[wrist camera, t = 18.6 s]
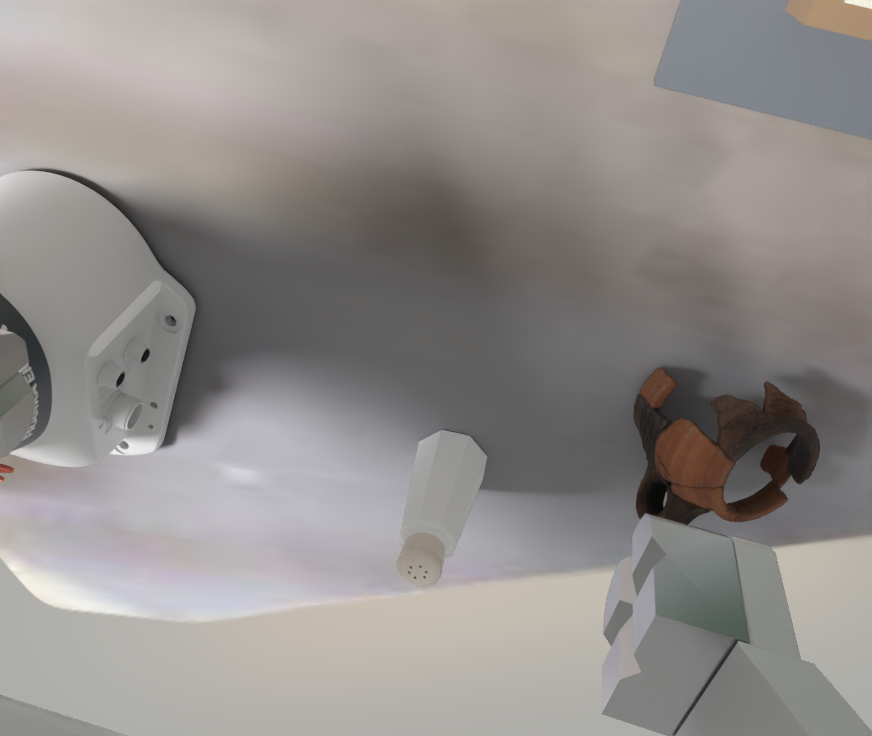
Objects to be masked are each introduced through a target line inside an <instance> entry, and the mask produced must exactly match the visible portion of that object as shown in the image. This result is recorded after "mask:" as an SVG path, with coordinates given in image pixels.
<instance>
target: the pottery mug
mask: <svg viewBox="0 0 872 736" xmlns="http://www.w3.org/2000/svg"><path fill="white" fill-rule="evenodd" d="M676 387H677V383H676V381H675V380H674V379H673V378H672V377H670V376H668V374H667V373H666V371H665V370H664V369H663V368H658V369H657V370H656V371H655V372H654V373H652V374H651V375H650V377H649V378H648V379H647V381H646V382H645V383H644V385H643V387H642V389H641V390H640V393H639V394H638V396H637V399H636V402H635V405H634V420H635V424H636V426H637V428H638V430H639V433H640V436H641V439H642V444H643V448H644V450H645V452H646V456H647V460H648V468H647V470H646V473H645V475H644V477H643V479H642V481H641V484H640V487H639V490H638V493H637V499H636V509H637V513H638V516H639V518H640V519H641V518H642V517H643V516H644V515H645V513H647V514H650V515H654V516H657V517H661V518H665V519H668V520H672V521H675V522H679V523H682V524H686V525H688V524H689V523H690V522H691V521H692V520H693V519H695V518H696V517H697V516H699V515H702V514H704V513H708V512H710V510H711V511H714V512H715V513H716V514H717V515H718V516H720V517H721V518H722V519H724V520H727V521H730V522H732V521H733V522H744V521H750V520H754V519H757V518H760V517H762V516H764V515H767V514H769V513H770V512H772V511H774V510H776V509H777V508H779V507H781V506H782V505H783V504H784V503H785V502H786V501H787V500H788V498H787V497H786V495H785V494H784V493H783V492H782V491H781V490H780V488H781V487H782V485H784V484H785V483H786V481H787V480H788V479H789V477H790V476H791V475H792V477H793V479H794V480H795V481H796V483H798V484H802V483H803V482H804V481H805V480H807V479H808V478H809V477H810V476H811V474H812V472H813V470H814V468H815V466H816V462H817V460H818V457H819V451H820V444H819V439H818V438H817V433H816V431H815V429H814V428H812V427H811V426H810V425H809V424H808V423H807V419H806V414H805V412H804V410H802V406H801V404H800V403H798V402H797V401H795V400H793V399H791V398H789V397H788V396H786V395H785V394H784V393H782V392H781V391H780V390H779V389H778V388H777V387H776V386H774V385H773V384H771V383H769V382H768V381H766V382H764V388H765V400H764V407H763V411H762V410H761V409H760V408H759V407H758V406H757V405H756V404H754V403H751V402H749V401H746V400H740V399H736V398H735V397H733V396H731V395H723V396H720V397H716V398H714V399H713V400H712V401H711V405H712V406H713V408H714V410H715V411H716V412H717V413H718V417H717V423H718V440H717V443H715V442H714V441H712V440H711V439H710V438H708V437H707V436H706V435H705V434H704V433H703V432H702V431H701V430H700V429H699V428H698V426H697V425H696V424H695V423H694V422H693V421H689V420H687V419H678V420H677V421H675V422H674V423H671V421H670V420H668V419H666V418H665V417H664V416H662V415H661V413H660V410H659V409H660V407H661V406H662V404H663V402H664V401H665V400H666V399H667V397H668V396H669V395H670V394H671V392H672V391H673V390H674V389H675V388H676ZM787 432H790V433H796V436H795V438H794V439H793V440H792V442H791V444H790V445H789V446H788V447H787V449H786V448H785V447H781V446H776V445H770V446H769V447H768V448H767V450H766V452H765V453H764V455H763V458H762V460H761V464H760V466H761V468H762V469H763V471H765V472H767V473H769V474H770V476H771V478H772V479H773V480H772V481H770V482H769V483H768V484H767V485H766V486H765V487H763V488H762V489H761V490H759V491H758V492H756V493H755V494H754V495H751V496H749V497H748V498H745V499H742V500H739V501H736V502H733V503H727V504H726V503H725V501H724V497H723V491H724V484H725V482H726V479H727V477H728V475H729V473H730V471H731V470H732V468H733V466H734V465H735V462H736V461H737V460H739V459H740V458H741V457H742V456H743V455H744V454H745V453H746V452H747V451H748V450H749V449H750V448H752V447H753V446H754V445H756V444H757V443H759V442H761V441H763V440H764V439H766V438H768V437H770V436H773V435H775V434H780V433H787ZM666 491H667V493H668V497H667V502H666V505H665V507H664V508H663V501H664V496H665V493H666Z"/></svg>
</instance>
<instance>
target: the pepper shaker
mask: <svg viewBox="0 0 872 736" xmlns="http://www.w3.org/2000/svg"><path fill="white" fill-rule="evenodd" d="M486 462H487V456H486V454H485V453H484V452H483V451H482V450H481V449H480V447H479V446H478V445H477V444H476V443H475V441H474V440H473V439H472V438H471V437H470V436H468V435H464V434H459V433H455V432H450V431H445V430H440V431H438V432H436V433H434V434H432V435H431V436H429V437H427V438H425V439H423V440H421V441H419V444H418V448H417V453H416V458H415V463H414V468H413V473H412V478H411V483H410V487H409V492H408V497H407V502H406V507H405V512H404V517H403V523H402V529H401V537H400V544H401V545H402V546H403V548H402V551H401V555H400V556H399V558H398V560H397V563H396V568H397V571H398V573H399V574H400V576H401V577H402V578H403V579H404V580H406V581H407V582H409V583H411V584H413V585H417V586H429V585H432V584H434V583H436V582H437V581H438V580H439V579H440V577H441V572H442V566H443V561H444V558H447V557H449V556H451V555H452V554H453V552H454V550H455V548H456V545H457V543H458V540H459V538H460V535H461V533H462V530H463V528H464V525H465V523H466V520H467V518H468V515H469V513H470V510H471V508H472V505H473V503H474V500H475V498H476V495H477V493H478V490H479V488H480V485H481V483H482V481H483V477H484V472H485V467H486Z"/></svg>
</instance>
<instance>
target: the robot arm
mask: <svg viewBox="0 0 872 736" xmlns="http://www.w3.org/2000/svg"><path fill="white" fill-rule="evenodd" d="M195 310H196V306H195V302H194V299H193V298H192V296H191V295H190V294H189V292H188V291H187V290H186V289H185V288H184V287H183V286H182V285H181V284H180V283H179V282H177V281H176V280H175V279H174V278H173V277H172V276H171V275H169V274H168V273H167V272H166V271H165V270H164V269H163V268H162V267H161V266H160V264H159V263H158V261H157V260H156V258H155V257H154V255H153V254H152V252H151V250H150V249H149V247H148V245H147V244H146V242H145V241H144V239H143V238H142V236H141V235H140V233H139V232H138V231H137V229H136V228H135V227H134V226H133V225H132V223H131V222H130V221H129V220H128V219H127V218H126V217H125V216H124V215H123V214H122V213H121V212H120V211H119V210H118V209H117V208H116V207H115V206H114V205H112V204H111V203H110V202H109V201H108V200H106V199H105V198H104V197H102V196H101V195H99V194H98V193H96V192H95V191H93V190H91V189H90V188H88V187H86V186H84V185H82V184H81V183H79V182H76V181H74V180H72V179H69V178H67V177H64V176H61V175H57V174H53V173H49V172H43V171H19V172H13V173H10V174H6V175H4V176H1V177H0V458H3V457H6V456H7V455H8V454H12V455H15V456H19V457H22V458H25V459H28V460H32V461H36V462H40V463H44V464H49V465H55V466H63V467H81V466H87V465H91V464H94V463H96V462H98V461H100V460H102V459H103V458H105V457H106V456H107V455H108V454H116V455H142V454H147V453H151V452H154V451H155V450H157V449H158V448H159V447H160V446H161V445H162V443H163V441H164V438H165V434H166V430H167V426H168V422H169V418H170V414H171V409H172V405H173V401H174V397H175V393H176V389H177V385H178V381H179V377H180V373H181V368H182V364H183V360H184V356H185V352H186V348H187V344H188V340H189V336H190V331H191V327H192V323H193V319H194V315H195ZM170 316H172V317H174V318H175V320H176V321H174V320H172V319H171V317H170ZM13 471H14V468H12V467H10V466H6V465H3V464H0V473H12V472H13ZM4 480H5V479H4V477H2V476H0V481H4ZM603 633H604V635H605V637H606V638H607V640H608V642H609V643H610V645H611V649H610V651H609V653H608V655H607V657H606V659H605V661H604V663H603V665H602V666H603V667H602V714H604V715H607V716H610V717H613V718H616V719H619V720H622V721H625V722H628V723H631V724H634V725H637V726H640V727H643V728H646V729H649V730H652V731H655V732H658V733H661V734H664V735H667V736H872V731H871V730H870V728H869V727H868V726H867V725H866V724H865V723H864V721H863V720H862V719H861V718H860V717H859V716H858V714H857V713H856V712H855V711H854V710H853V709H852V707H851V706H850V705H849V704H848V703H847V702H846V701H845V699H844V698H843V697H842V696H841V695H840V693H839V692H838V691H837V690H836V689H835V688H834V687H833V685H832V684H831V683H830V682H829V681H828V679H827V678H826V677H825V676H824V675H823V674H822V672H821V671H820V670H819V669H818V668H817V667H816V665H815V664H813V663H810V662H807V661H803V660H801V658H800V653H799V650H798V645H797V641H796V637H795V633H794V628H793V624H792V620H791V617H790V612H789V608H788V603H787V599H786V595H785V591H784V587H783V583H782V579H781V574H780V571H779V566H778V562H777V558H776V554H775V552H774V551H773V550H772V548H771V547H770V546H767V545H763V544H760V543H756V542H752V541H748V540H744V539H741V538H737V537H733V536H729V535H728V536H725V535H722V534H718V533H715V532H711V531H708V530H704V529H700V528H697V527H693V526H690V525H686V524H682V523H679V522H675V521H672V520H668V519H665V518H661V517H657V516H654V515H650V514H647V513H645V515H644V516H643V517H642V518H641V519H640V520H639V522H638V524H637V526H636V528H635V530H634V532H633V534H632V555H630V556H628V557H626V558H624V559H622V560H620V562H619V564H618V566H617V569H616V571H615V573H614V576H613V578H612V581H611V584H610V588H609V592H608V595H607V599H606V605H605V613H604V630H603ZM0 736H127V735H124V734H121V733H118V732H115V731H112V730H109V729H106V728H103V727H99V726H96V725H93V724H90V723H87V722H84V721H81V720H78V719H74V718H71V717H68V716H65V715H62V714H59V713H55V712H53V711H49V710H46V709H43V708H40V707H37V706H34V705H31V704H28V703H24V702H21V701H18V700H15V699H12V698H9V697H6V696H3V695H0Z"/></svg>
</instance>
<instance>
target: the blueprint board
mask: <svg viewBox="0 0 872 736" xmlns="http://www.w3.org/2000/svg"><path fill="white" fill-rule="evenodd" d="M654 83H655V86H657V87H661V88H665V89H669V90H673V91H677V92H681V93H685V94H690V95H694V96H698V97H702V98H706V99H710V100H714V101H718V102H722V103H726V104H730V105H734V106H738V107H742V108H746V109H750V110H754V111H758V112H762V113H766V114H770V115H775V116H779V117H783V118H787V119H791V120H795V121H799V122H803V123H807V124H811V125H815V126H819V127H823V128H827V129H831V130H835V131H839V132H843V133H847V134H851V135H856V136H860V137H864V138H868V139H872V0H681V1H680V4H679V7H678V10H677V13H676V16H675V19H674V22H673V25H672V28H671V31H670V34H669V37H668V40H667V43H666V46H665V49H664V52H663V54H662V57H661V60H660V63H659V66H658V69H657V72H656V75H655V78H654Z"/></svg>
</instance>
